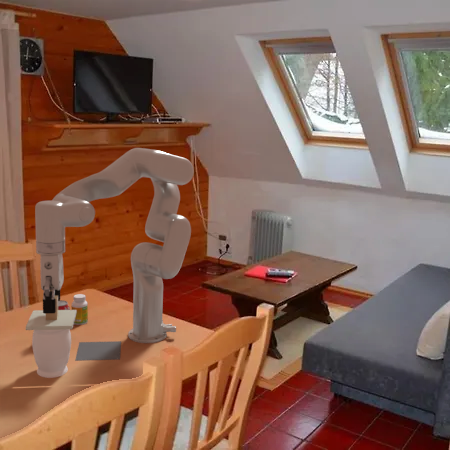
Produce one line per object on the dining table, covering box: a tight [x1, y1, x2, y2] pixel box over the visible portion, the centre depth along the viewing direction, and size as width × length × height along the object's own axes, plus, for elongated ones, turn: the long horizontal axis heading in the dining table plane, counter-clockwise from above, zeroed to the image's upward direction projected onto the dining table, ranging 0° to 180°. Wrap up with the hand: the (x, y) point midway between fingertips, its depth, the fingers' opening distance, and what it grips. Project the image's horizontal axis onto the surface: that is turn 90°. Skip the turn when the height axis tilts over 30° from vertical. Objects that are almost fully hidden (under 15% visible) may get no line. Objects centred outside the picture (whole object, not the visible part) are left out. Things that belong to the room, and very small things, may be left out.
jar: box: [31, 329, 72, 379], centre depth 157 cm, size 11×10×15 cm
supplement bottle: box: [71, 293, 89, 326], centre depth 193 cm, size 5×5×10 cm
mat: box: [75, 340, 122, 362], centre depth 172 cm, size 13×13×1 cm
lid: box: [25, 296, 77, 331], centre depth 155 cm, size 12×12×7 cm
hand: (51, 306), depth 155 cm, fingers open, 9 cm apart
